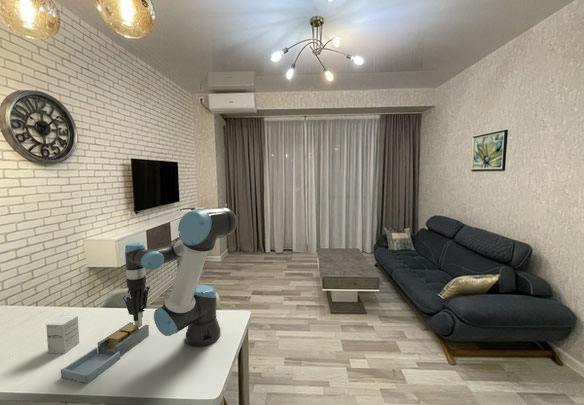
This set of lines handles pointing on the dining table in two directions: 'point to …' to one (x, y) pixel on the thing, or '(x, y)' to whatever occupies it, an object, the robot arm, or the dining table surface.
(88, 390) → the dining table surface
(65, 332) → the supplement box
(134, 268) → the robot arm
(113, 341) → the yellow brown block
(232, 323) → the dining table surface
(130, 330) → the chip
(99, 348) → the slot bed
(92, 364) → the tray
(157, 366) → the dining table surface
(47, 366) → the dining table surface
